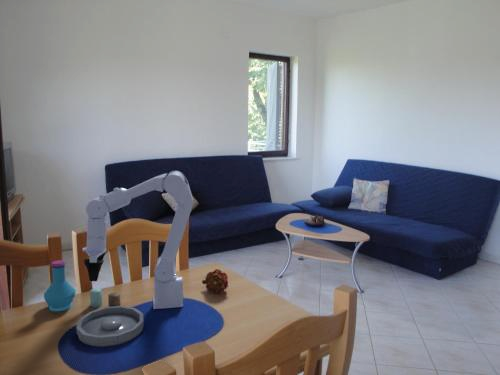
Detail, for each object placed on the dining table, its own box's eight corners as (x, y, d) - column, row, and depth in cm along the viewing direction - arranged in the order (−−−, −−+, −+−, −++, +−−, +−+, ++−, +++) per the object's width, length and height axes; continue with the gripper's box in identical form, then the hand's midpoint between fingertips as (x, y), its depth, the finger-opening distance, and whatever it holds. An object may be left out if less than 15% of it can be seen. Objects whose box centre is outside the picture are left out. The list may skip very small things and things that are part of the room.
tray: (143, 312, 128) (143, 303, 128) (143, 342, 111) (142, 333, 111) (82, 317, 124) (82, 308, 124) (72, 350, 107) (72, 340, 106)
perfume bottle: (64, 314, 125) (61, 268, 123) (37, 311, 127) (35, 265, 125) (82, 301, 134) (80, 258, 132) (57, 298, 136) (54, 256, 134)
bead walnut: (120, 306, 132) (120, 292, 131) (120, 311, 128) (119, 297, 128) (109, 307, 131) (108, 293, 130) (108, 312, 127) (107, 297, 127)
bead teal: (102, 302, 135) (102, 287, 134) (101, 307, 131) (101, 292, 130) (91, 302, 134) (90, 288, 133) (89, 307, 130) (89, 293, 129)
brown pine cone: (219, 303, 140) (209, 293, 151) (237, 286, 142) (226, 278, 153) (204, 285, 138) (195, 277, 149) (223, 268, 140) (213, 261, 151)
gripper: (86, 228, 134) (85, 267, 137) (79, 242, 120) (78, 285, 123) (108, 229, 136) (107, 267, 138) (104, 242, 122) (102, 285, 125)
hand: (95, 276), depth 131 cm, fingers open, 7 cm apart
